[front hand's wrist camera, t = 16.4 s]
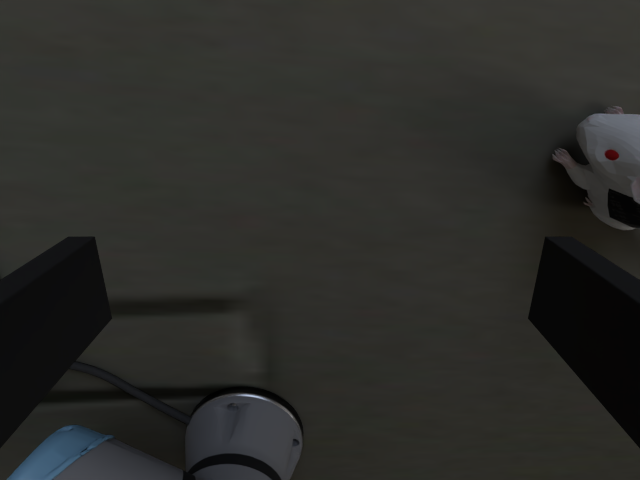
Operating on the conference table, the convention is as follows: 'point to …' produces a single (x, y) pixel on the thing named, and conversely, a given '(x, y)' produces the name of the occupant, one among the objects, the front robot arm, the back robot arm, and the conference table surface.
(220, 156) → the conference table surface
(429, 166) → the conference table surface
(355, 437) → the conference table surface
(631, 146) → the toy
